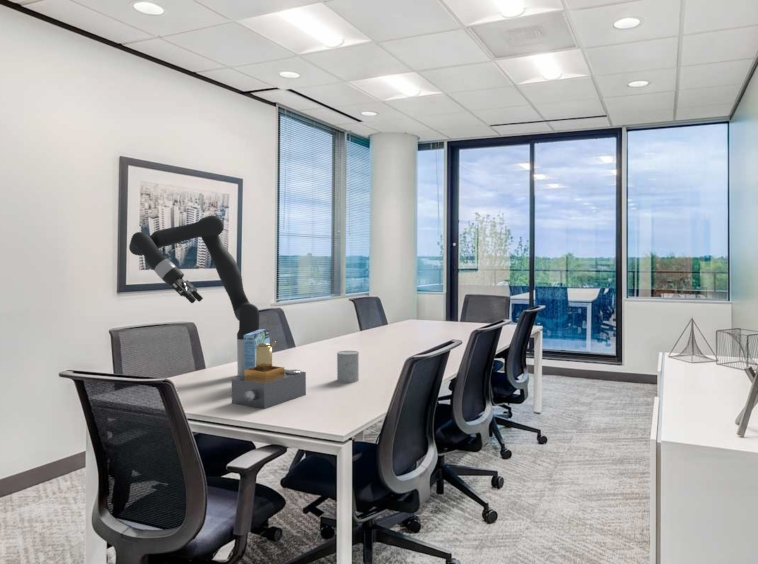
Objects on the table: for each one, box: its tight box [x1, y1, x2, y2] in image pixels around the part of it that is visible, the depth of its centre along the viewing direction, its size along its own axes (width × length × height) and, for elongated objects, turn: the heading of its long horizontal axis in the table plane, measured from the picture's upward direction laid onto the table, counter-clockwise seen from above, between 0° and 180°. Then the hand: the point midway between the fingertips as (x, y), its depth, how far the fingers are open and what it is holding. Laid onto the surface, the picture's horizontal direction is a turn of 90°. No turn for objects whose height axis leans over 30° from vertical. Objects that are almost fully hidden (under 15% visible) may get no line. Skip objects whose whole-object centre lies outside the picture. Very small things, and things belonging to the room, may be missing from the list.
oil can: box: [256, 340, 277, 372], centre depth 217 cm, size 8×6×13 cm
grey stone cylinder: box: [336, 350, 360, 384], centre depth 248 cm, size 10×10×12 cm
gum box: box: [244, 328, 271, 376], centre depth 237 cm, size 20×5×23 cm, turn 172°
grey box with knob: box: [231, 365, 307, 410], centre depth 215 cm, size 27×16×12 cm, turn 150°
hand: (197, 300), depth 228 cm, fingers open, 8 cm apart
